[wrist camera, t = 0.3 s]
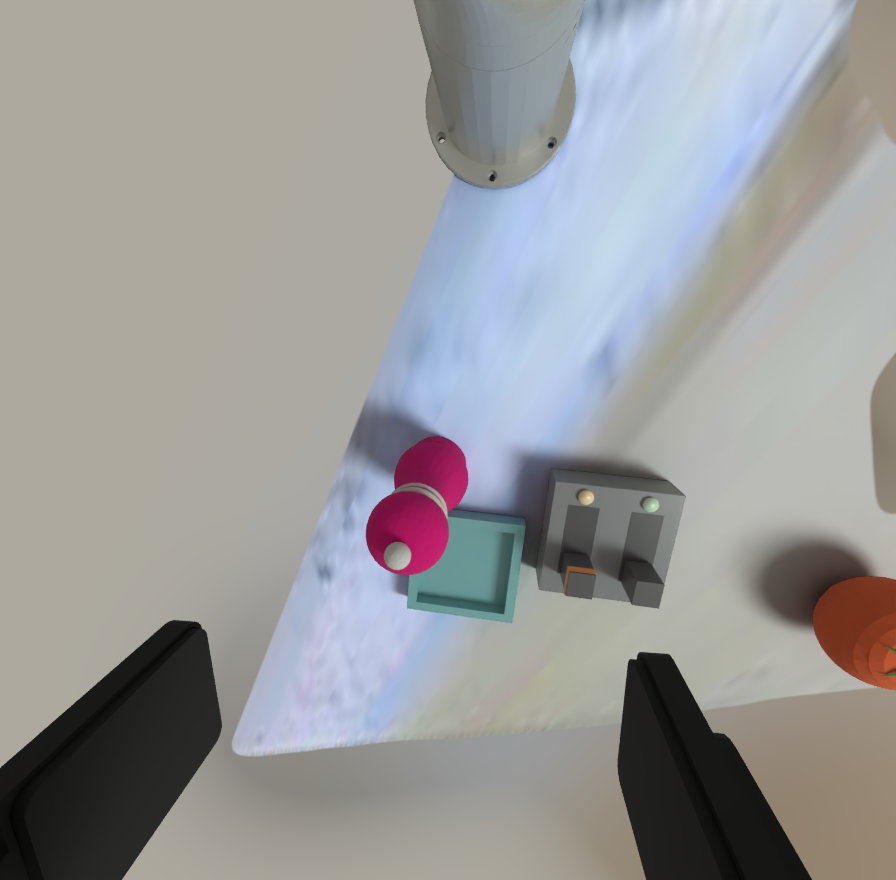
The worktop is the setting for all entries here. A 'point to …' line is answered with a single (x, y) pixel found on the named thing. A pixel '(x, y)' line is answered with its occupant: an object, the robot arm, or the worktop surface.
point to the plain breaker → (642, 584)
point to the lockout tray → (473, 568)
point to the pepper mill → (418, 507)
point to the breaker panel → (607, 527)
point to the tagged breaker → (578, 575)
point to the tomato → (860, 628)
